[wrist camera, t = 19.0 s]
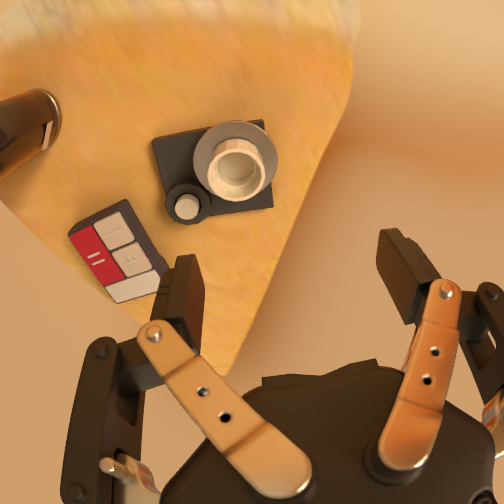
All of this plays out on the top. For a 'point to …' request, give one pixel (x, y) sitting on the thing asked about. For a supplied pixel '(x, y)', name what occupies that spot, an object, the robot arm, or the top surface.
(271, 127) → the top surface
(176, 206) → the button
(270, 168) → the pan
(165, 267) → the calculator
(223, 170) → the bowl
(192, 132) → the grey knob plate
